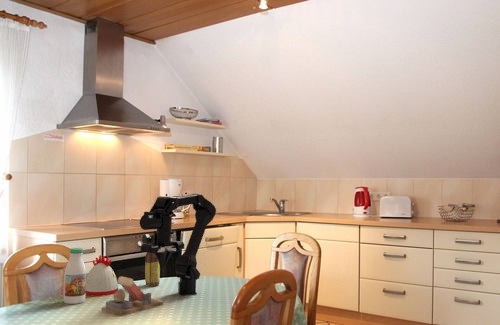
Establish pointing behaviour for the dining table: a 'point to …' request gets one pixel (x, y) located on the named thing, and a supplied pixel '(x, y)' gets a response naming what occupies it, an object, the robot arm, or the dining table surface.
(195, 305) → the dining table surface
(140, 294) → the lever
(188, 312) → the dining table surface
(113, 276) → the white and red dome
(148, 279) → the sauce bottle
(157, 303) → the base
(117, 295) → the walnut
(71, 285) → the milk bottle
